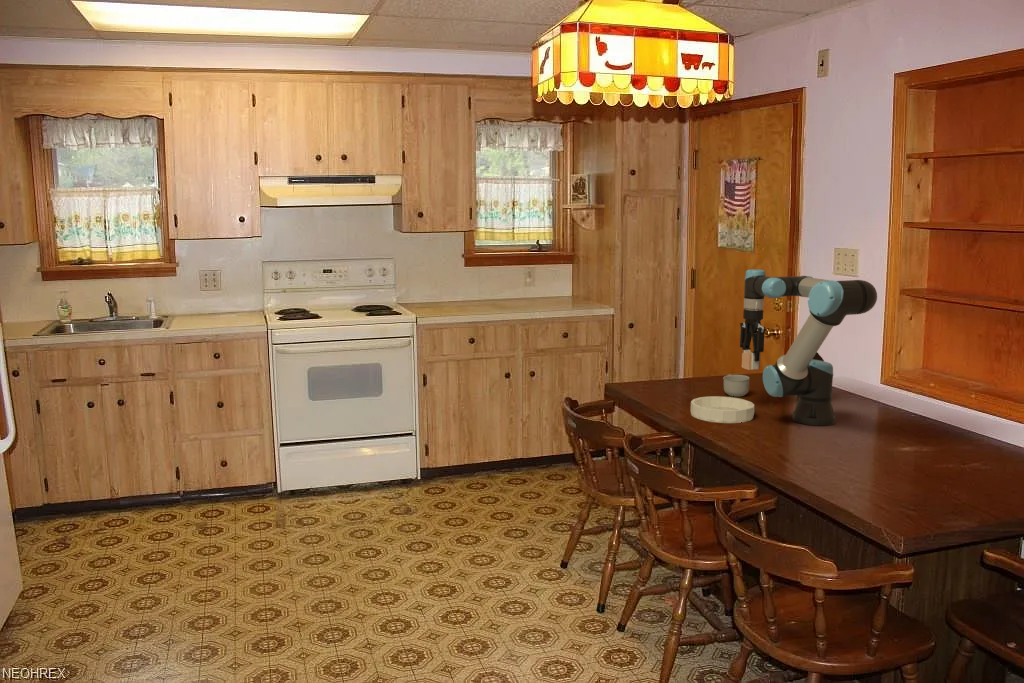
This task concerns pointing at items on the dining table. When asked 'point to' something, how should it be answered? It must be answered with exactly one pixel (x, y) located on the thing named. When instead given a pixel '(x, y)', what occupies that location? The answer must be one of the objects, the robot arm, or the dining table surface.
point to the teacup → (736, 385)
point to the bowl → (722, 409)
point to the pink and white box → (748, 361)
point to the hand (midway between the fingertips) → (750, 367)
